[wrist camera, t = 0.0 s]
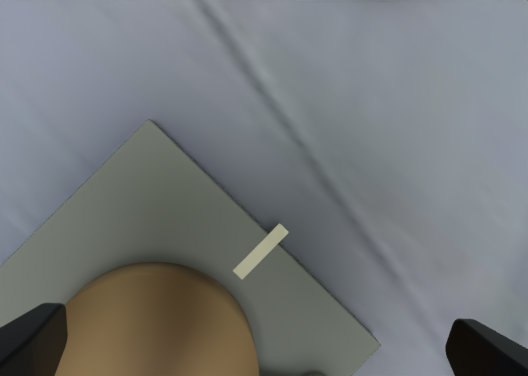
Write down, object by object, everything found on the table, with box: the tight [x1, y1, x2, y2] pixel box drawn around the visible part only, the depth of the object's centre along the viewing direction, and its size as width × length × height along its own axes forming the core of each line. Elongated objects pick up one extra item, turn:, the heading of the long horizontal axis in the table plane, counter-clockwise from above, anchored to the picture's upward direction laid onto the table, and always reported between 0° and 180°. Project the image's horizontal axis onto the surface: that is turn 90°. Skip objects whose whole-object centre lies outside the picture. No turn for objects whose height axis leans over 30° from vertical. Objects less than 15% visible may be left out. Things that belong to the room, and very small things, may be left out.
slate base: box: [0, 119, 381, 376], centre depth 23 cm, size 21×20×2 cm
